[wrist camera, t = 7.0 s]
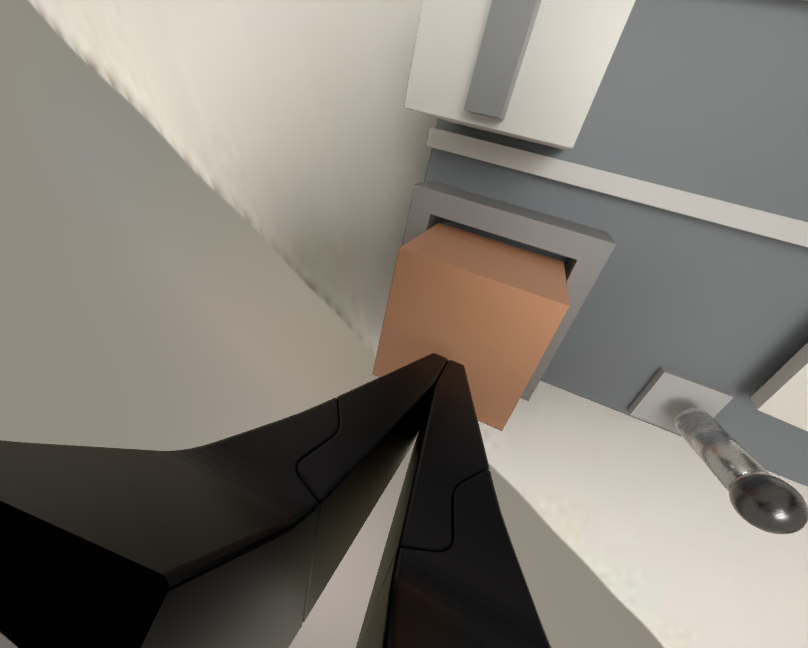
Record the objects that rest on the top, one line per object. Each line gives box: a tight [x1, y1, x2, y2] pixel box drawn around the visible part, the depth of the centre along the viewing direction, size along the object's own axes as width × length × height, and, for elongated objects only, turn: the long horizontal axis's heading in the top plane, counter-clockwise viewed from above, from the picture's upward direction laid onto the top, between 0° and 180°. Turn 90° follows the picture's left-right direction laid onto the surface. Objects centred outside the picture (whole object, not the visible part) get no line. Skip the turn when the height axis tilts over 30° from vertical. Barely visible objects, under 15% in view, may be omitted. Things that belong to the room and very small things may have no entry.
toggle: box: [674, 408, 808, 534], centre depth 11 cm, size 2×2×4 cm
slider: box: [404, 0, 636, 150], centre depth 8 cm, size 4×4×6 cm
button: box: [373, 223, 569, 431], centre depth 11 cm, size 5×5×4 cm
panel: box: [402, 0, 808, 486], centre depth 11 cm, size 20×14×4 cm
